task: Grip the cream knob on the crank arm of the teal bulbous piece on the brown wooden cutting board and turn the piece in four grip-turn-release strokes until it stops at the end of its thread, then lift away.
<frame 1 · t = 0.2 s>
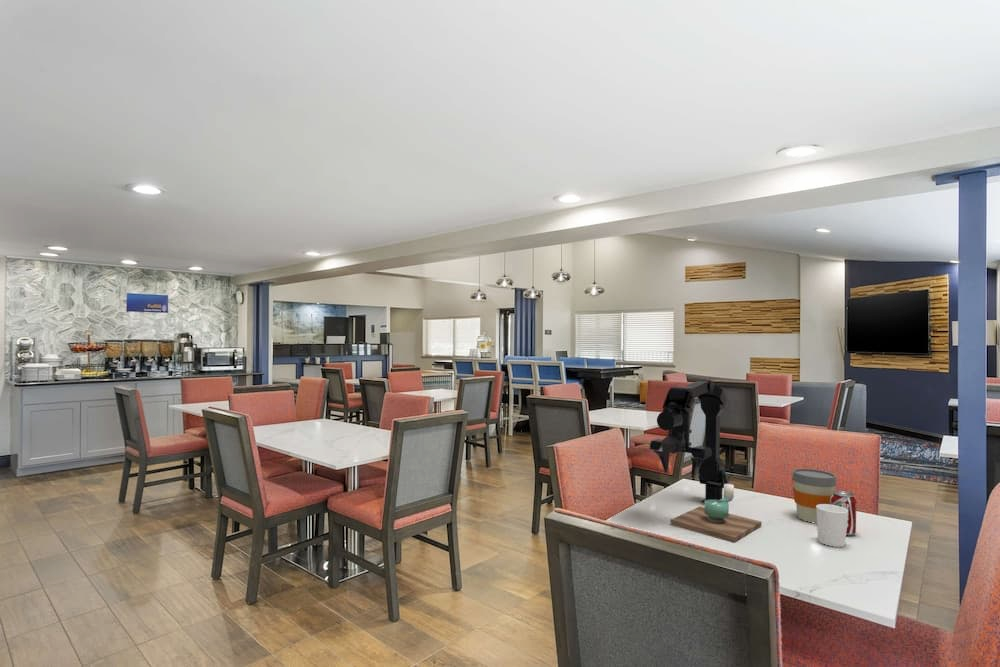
hand: (679, 475, 176), 14 cm above the table, tool pointing down, fingers open, 9 cm apart
white cup: (831, 543, 159), on the table
soda can: (842, 533, 168), on the table
teal bulbous piece: (721, 499, 175), point 7 cm above the table, hinge at 0.0°
reusable coffee cup: (813, 519, 180), on the table
brown wooden cutting board: (716, 525, 172), on the table
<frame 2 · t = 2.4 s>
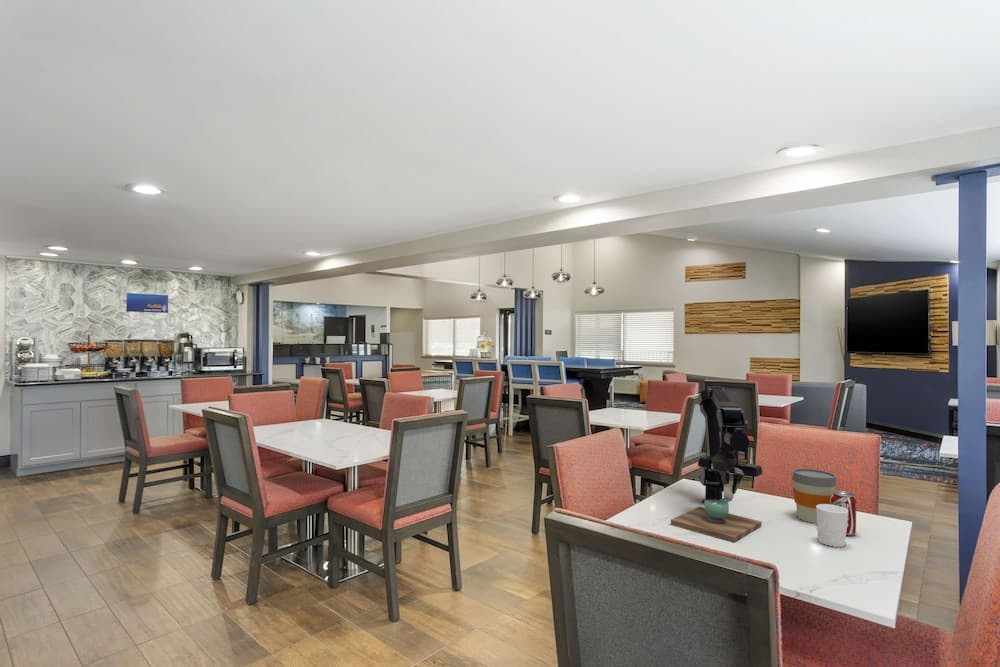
hand: (728, 492, 179), 9 cm above the table, tool pointing down, fingers closed on teal bulbous piece, 3 cm apart
teal bulbous piece: (721, 499, 175), point 7 cm above the table, hinge at 0.0°, touching gripper
everything else where it was.
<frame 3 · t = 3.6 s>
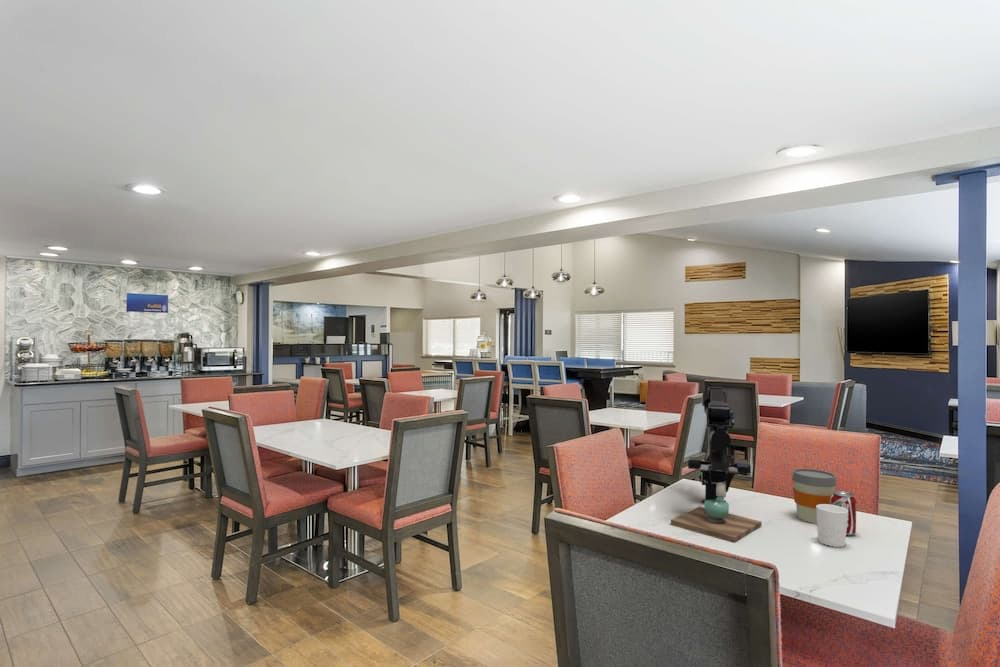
hand: (718, 491, 180), 8 cm above the table, tool pointing down, fingers open, 4 cm apart
teal bulbous piece: (718, 499, 175), point 7 cm above the table, hinge at 15.0°, touching gripper
everything else where it was.
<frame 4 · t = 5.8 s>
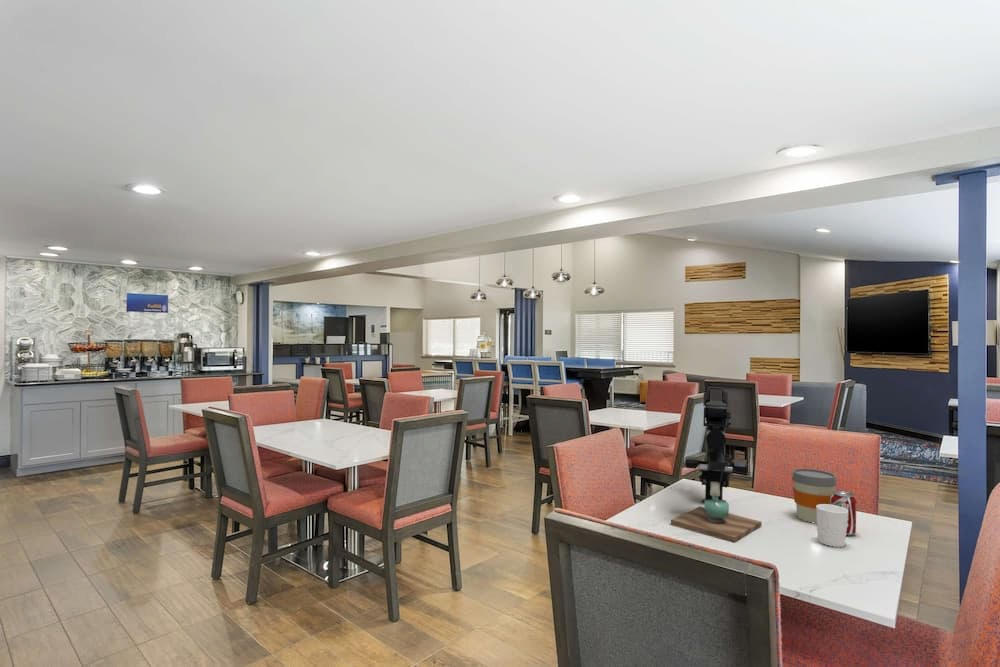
hand: (714, 490, 181), 8 cm above the table, tool pointing down, fingers closed on teal bulbous piece, 3 cm apart
teal bulbous piece: (715, 499, 175), point 7 cm above the table, hinge at 26.9°, touching gripper
everything else where it was.
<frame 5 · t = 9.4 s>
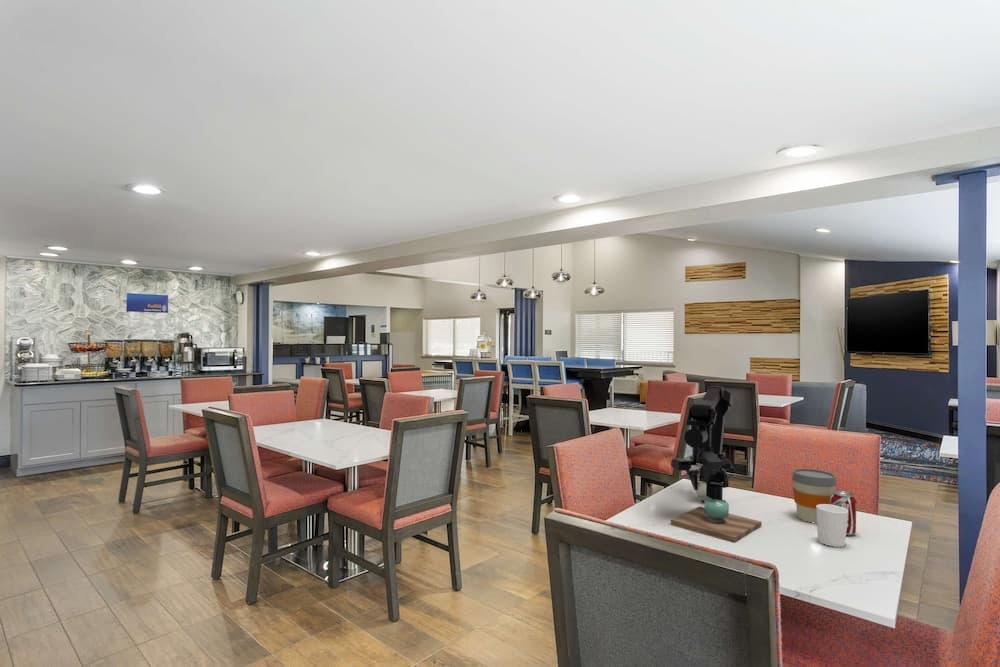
hand: (700, 489, 181), 8 cm above the table, tool pointing down, fingers open, 3 cm apart
teal bulbous piece: (710, 498, 176), point 7 cm above the table, hinge at 54.8°, touching gripper
everything else where it was.
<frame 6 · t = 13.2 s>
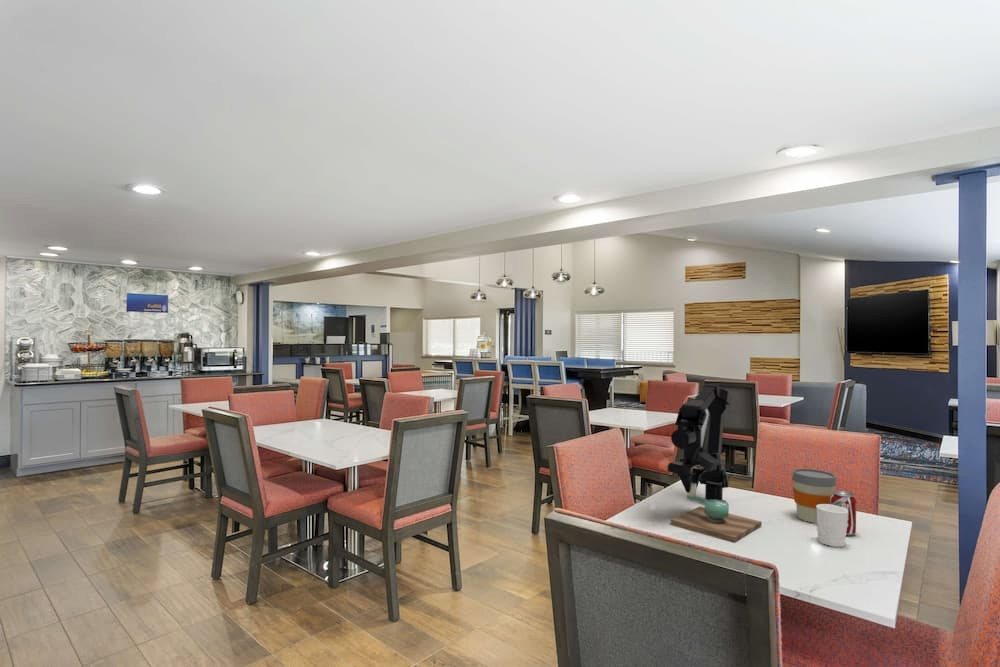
hand: (691, 491, 179), 8 cm above the table, tool pointing down, fingers closed on teal bulbous piece, 3 cm apart
teal bulbous piece: (706, 499, 175), point 7 cm above the table, hinge at 81.7°, touching gripper
everything else where it was.
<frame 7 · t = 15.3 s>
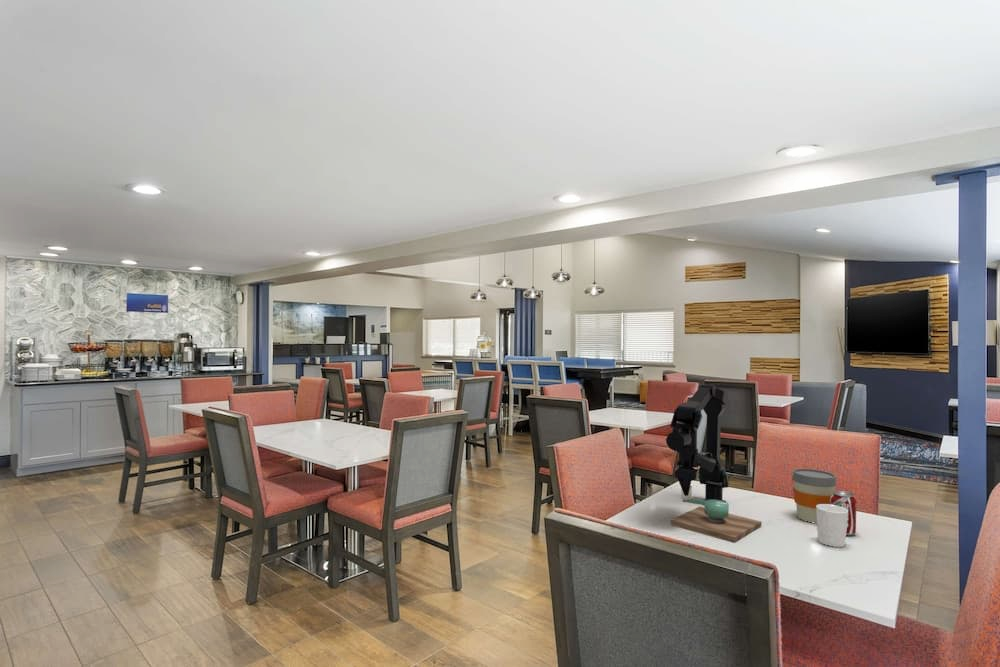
hand: (686, 494, 176), 8 cm above the table, tool pointing down, fingers closed on teal bulbous piece, 3 cm apart
teal bulbous piece: (704, 500, 174), point 7 cm above the table, hinge at 108.2°, touching gripper
everything else where it was.
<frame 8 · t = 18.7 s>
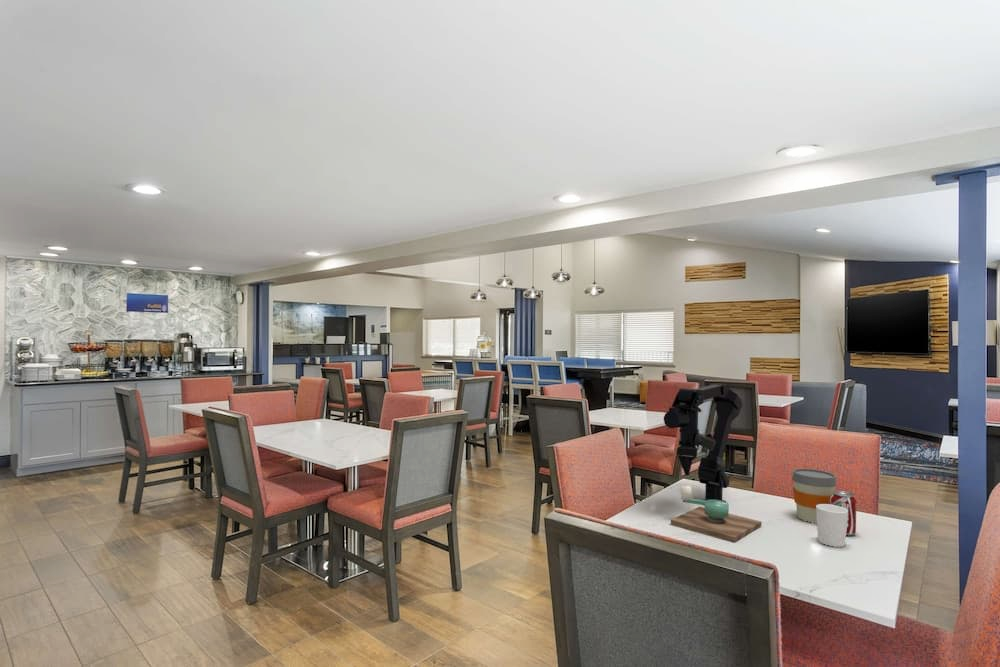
hand: (687, 472, 186), 13 cm above the table, tool pointing down, fingers open, 9 cm apart
teal bulbous piece: (704, 500, 174), point 7 cm above the table, hinge at 110.2°
everything else where it was.
at the end: teal bulbous piece at +110° (first picture: +0°); the gripper is holding nothing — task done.
